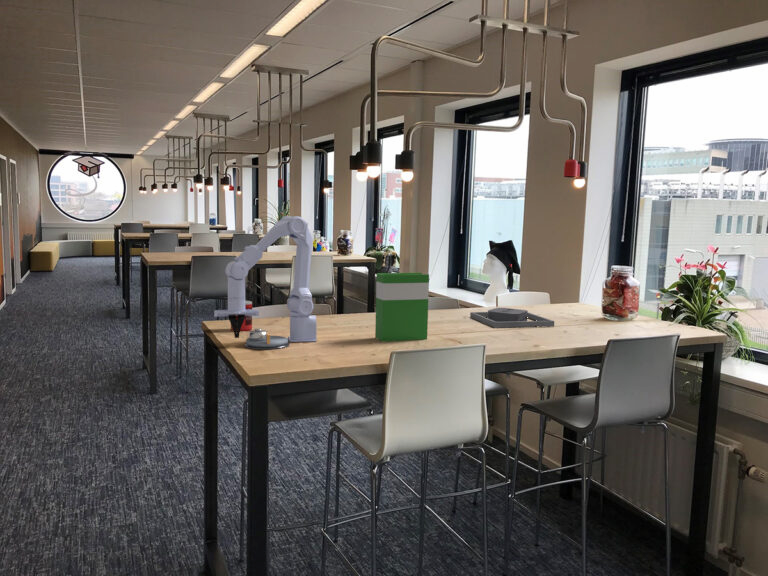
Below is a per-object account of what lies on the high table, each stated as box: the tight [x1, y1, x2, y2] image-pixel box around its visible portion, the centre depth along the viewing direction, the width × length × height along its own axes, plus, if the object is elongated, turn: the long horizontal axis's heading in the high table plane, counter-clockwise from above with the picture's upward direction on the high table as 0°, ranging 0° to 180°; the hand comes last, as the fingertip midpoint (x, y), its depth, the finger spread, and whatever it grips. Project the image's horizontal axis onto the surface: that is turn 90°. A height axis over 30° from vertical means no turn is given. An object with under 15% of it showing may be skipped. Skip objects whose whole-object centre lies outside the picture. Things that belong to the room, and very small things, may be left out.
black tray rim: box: [469, 311, 555, 329], centre depth 273 cm, size 27×27×2 cm
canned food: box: [230, 300, 253, 332], centre depth 239 cm, size 8×8×11 cm
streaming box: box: [487, 307, 529, 322], centre depth 273 cm, size 14×14×5 cm
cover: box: [248, 328, 268, 341], centre depth 212 cm, size 6×6×4 cm
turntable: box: [245, 332, 289, 347], centre depth 212 cm, size 15×14×4 cm
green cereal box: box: [374, 272, 430, 342], centre depth 228 cm, size 18×7×24 cm, turn 111°
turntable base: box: [244, 341, 290, 351], centre depth 213 cm, size 15×15×1 cm
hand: (236, 337), depth 210 cm, fingers closed
